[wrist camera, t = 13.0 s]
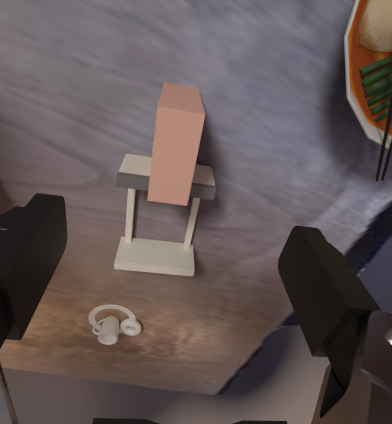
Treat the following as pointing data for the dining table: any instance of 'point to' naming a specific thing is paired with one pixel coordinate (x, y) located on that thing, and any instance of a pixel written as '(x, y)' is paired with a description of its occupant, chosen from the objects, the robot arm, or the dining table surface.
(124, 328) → the white pacifier
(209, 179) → the stand
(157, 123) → the pink rectangular block
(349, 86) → the ramen bowl
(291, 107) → the dining table surface
